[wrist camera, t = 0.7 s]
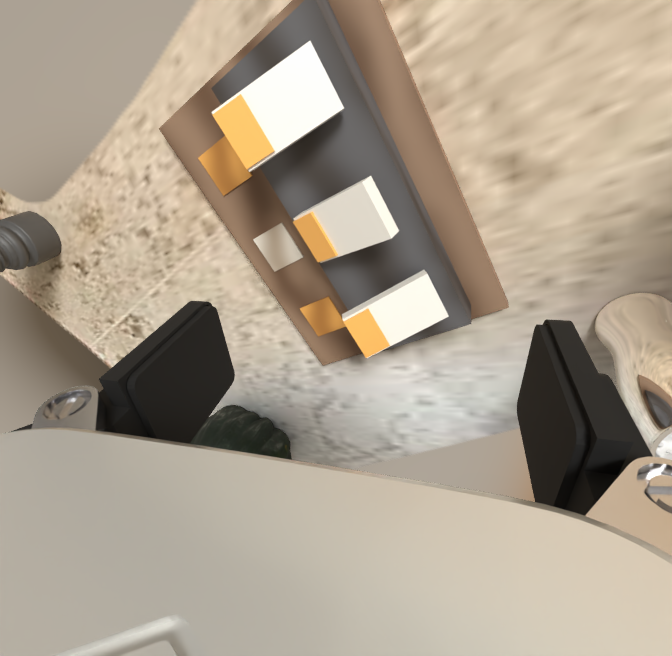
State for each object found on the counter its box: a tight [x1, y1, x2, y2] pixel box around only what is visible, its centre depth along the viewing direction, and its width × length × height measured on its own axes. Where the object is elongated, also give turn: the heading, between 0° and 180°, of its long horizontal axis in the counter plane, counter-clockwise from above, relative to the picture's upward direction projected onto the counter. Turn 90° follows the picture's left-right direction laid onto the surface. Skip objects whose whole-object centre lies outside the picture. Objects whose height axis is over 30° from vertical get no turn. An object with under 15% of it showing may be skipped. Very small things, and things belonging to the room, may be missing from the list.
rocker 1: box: [212, 41, 344, 172], centre depth 27 cm, size 8×4×1 cm, turn 122°
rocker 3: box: [342, 270, 449, 358], centre depth 33 cm, size 8×4×1 cm, turn 122°
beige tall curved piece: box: [595, 293, 672, 460], centre depth 29 cm, size 7×7×15 cm
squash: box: [190, 405, 292, 460], centre depth 55 cm, size 14×15×15 cm
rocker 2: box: [293, 176, 399, 263], centre depth 30 cm, size 8×4×2 cm, turn 121°
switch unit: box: [159, 0, 509, 365], centre depth 35 cm, size 22×30×6 cm
